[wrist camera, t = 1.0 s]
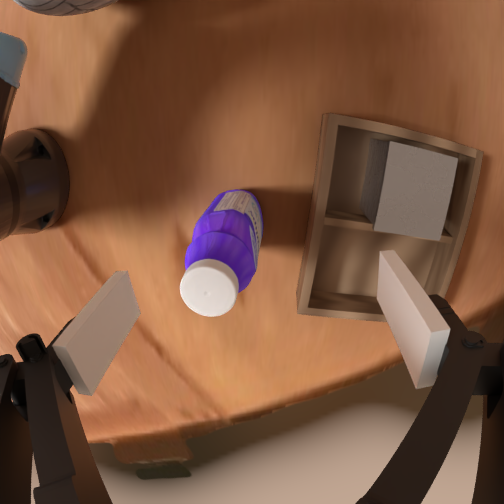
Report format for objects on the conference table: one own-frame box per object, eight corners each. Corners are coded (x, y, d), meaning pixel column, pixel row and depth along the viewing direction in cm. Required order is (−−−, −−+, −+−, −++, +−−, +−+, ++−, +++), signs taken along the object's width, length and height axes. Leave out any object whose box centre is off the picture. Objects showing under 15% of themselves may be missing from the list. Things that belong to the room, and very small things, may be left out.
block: (357, 208, 35) (373, 230, 29) (368, 136, 32) (389, 141, 25) (414, 218, 35) (439, 240, 28) (427, 149, 32) (458, 158, 25)
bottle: (267, 243, 39) (256, 332, 23) (221, 248, 40) (182, 335, 24) (259, 183, 36) (239, 237, 20) (210, 190, 37) (156, 247, 21)
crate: (296, 292, 41) (297, 314, 37) (322, 113, 32) (329, 112, 28) (421, 304, 40) (433, 324, 36) (462, 146, 32) (483, 151, 27)
